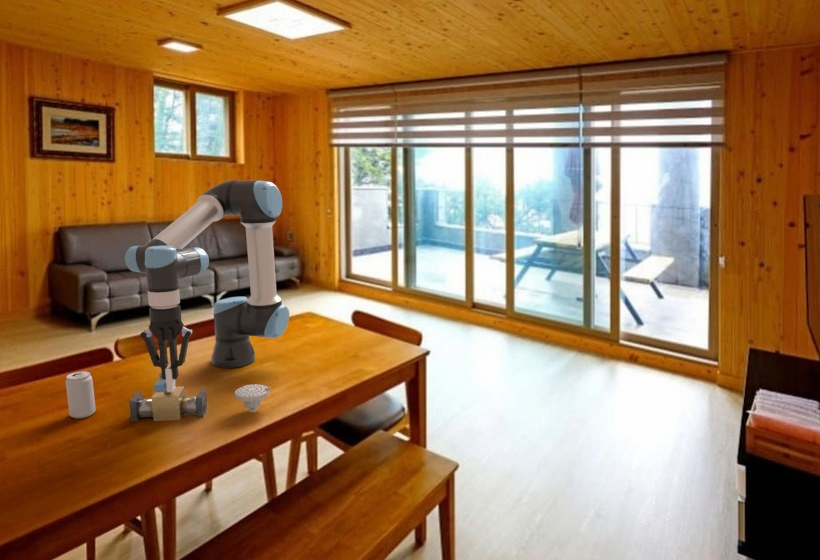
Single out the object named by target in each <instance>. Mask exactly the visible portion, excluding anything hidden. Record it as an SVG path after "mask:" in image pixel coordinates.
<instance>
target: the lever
mask: <svg viewBox="0 0 820 560" xmlns="http://www.w3.org/2000/svg"><path fill="white" fill-rule="evenodd" d="M158 376H159V379H158V380H157V381H156V382H155V383H154V393H158V392H165V391H166V389H167V386H166V379H165V380H163V379H162V372H160V373H159V374H158Z"/></svg>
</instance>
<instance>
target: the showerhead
mask: <svg viewBox="0 0 820 560" xmlns="http://www.w3.org/2000/svg"><path fill="white" fill-rule="evenodd" d="M270 390H271V387H270V386H267V385H263V384H259V383H258V384H256V383H254V384H251V383H250V384H245V385H243V386H241V387H239V388H237V389H236V390H235V391H234V398H235V399H236V400H237V401H240V402H243V406H244V407H245V408H247V409H248V412H249V413H256V412H257V411H258V410H257V408H258V407H259V406H261V405H262V400H263V399H266V398H268V396H269V395H270Z"/></svg>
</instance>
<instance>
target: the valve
mask: <svg viewBox="0 0 820 560" xmlns="http://www.w3.org/2000/svg"><path fill="white" fill-rule="evenodd" d="M182 397H186V389H185V386H176V388H175V390H174V391H173V392H167V389H166V391H165V392H158V393H155V392H154V393H153V394H152V396H151V399H152V408H153V419H152V420H153V422H162V421H163V422H165V421H180V420H181V419H182V417H183V416H184V415H182V414H181V409H180V405H181V399H182Z"/></svg>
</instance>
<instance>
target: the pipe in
mask: <svg viewBox="0 0 820 560" xmlns="http://www.w3.org/2000/svg"><path fill="white" fill-rule="evenodd" d="M207 398H208V396H207V389H206V388H204V389H203V388H202V389H200V390H199V391H198V393H197V395H196V396H185V397H182V399H181V405H180V409H181V414H182V415H183V416H187V415H188V416H189V415H190V416H191V415H196V419H200V418H202V419H203V418H204V417H205V416H206V412H207V410H208V399H207Z"/></svg>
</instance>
